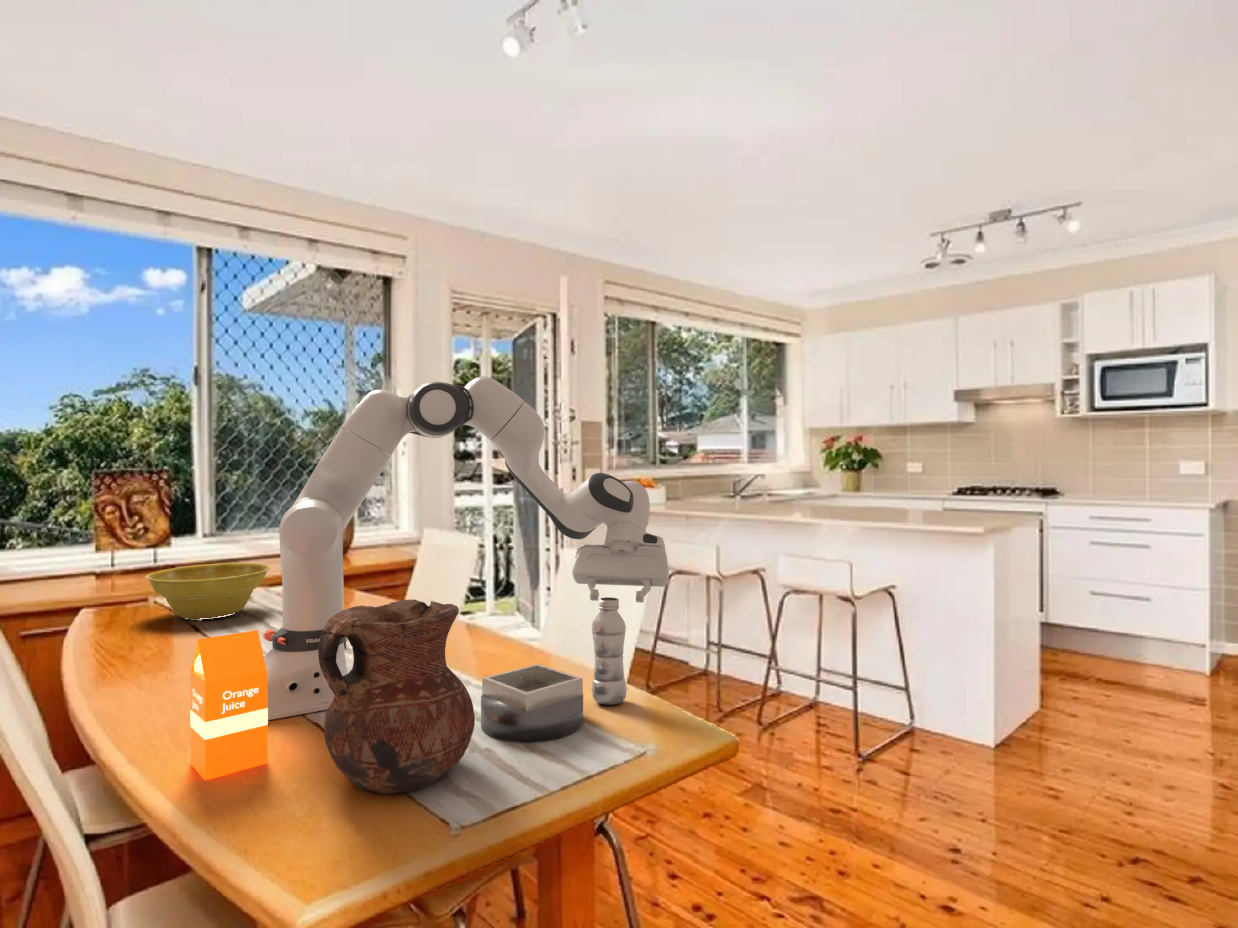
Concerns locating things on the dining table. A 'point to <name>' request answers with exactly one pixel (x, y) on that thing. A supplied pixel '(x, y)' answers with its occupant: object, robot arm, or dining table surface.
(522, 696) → the disc with square tube
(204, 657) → the orange juice
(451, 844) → the dining table surface
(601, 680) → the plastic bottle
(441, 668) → the jug
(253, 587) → the planter bowl
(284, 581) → the robot arm
